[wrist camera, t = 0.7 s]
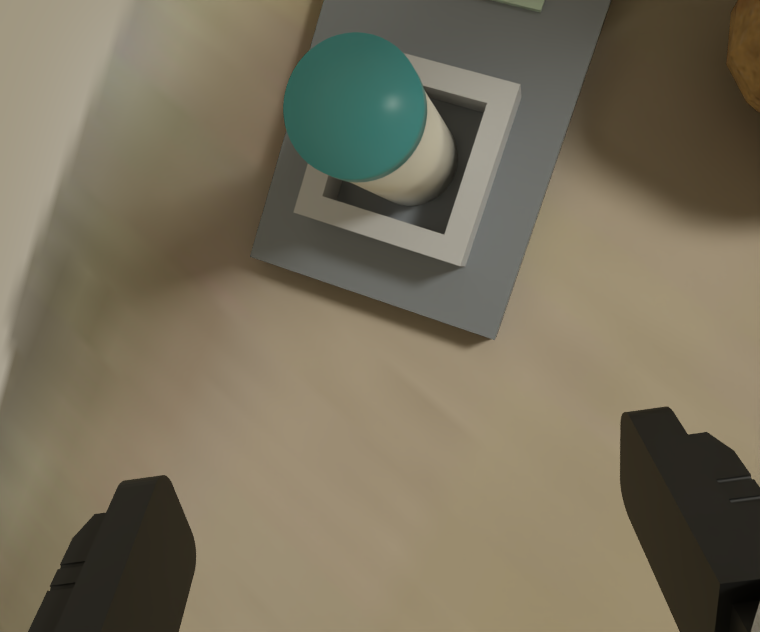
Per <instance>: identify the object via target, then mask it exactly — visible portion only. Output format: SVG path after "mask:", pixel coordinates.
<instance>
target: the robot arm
mask: <svg viewBox="0 0 760 632" xmlns="http://www.w3.org/2000/svg"><path fill="white" fill-rule="evenodd" d="M620 484H621V492H622V497H623V501H624V505H625V508H626V511H627V514H628V517H629V519H630V521H631V524H632V526H633V528H634V530H635V532H636V535H637V537H638V539H639V541H640V544H641V546H642V548H643V550H644V553H645V555H646V557H647V559H648V562H649V564H650V566H651V568H652V571H653V573H654V575H655V577H656V579H657V582H658V584H659V586H660V588H661V591H662V593H663V595H664V597H665V600H666V602H667V604H668V606H669V609H670V611H671V613H672V615H673V618H674V620H675V622H676V624H677V626H678V629H679V631H680V632H760V487H759V486H758V484H757V483H756V481H755V480H754V479H753V480H752V479H751V474H750V473H749V471H748V470H747V469H746V467H745V466H744V464H743V463H742V462H741V460H740V459H739V457H738V456H737V454H736V453H735V452H734V451H733V450H732V449H731V448H729V447H728V446H726V445H725V444H723V443H722V442H720V441H719V440H718V439H716V438H715V437H713V436H712V435H710V434H709V433H707V432H704V433H697V434H690V435H688V434H687V433H686V431H685V429H684V428H683V426H682V425H681V423H680V422H679V420H678V418H677V417H676V415H675V414H674V412H673V411H672V410H671V409H670V408H669V407H660V408H653V409H645V410H638V411H631V412H624V413H623V414H622V416H621V434H620ZM60 565H61V568H60V569H58V570H57V572H56V574H55V576H54V578H53V581H52V583H51V585H50V587H51V589H50V591H47V593H46V595H45V597H44V599H43V602H42V604H41V606H40V608H39V610H38V612H37V614H36V616H35V618H34V620H33V622H32V625H31V627H30V629H29V631H28V632H179V629H180V625H181V621H182V617H183V613H184V610H185V606H186V602H187V598H188V594H189V591H190V587H191V583H192V579H193V575H194V571H195V565H196V547H195V541H194V537H193V534H192V531H191V529H190V526H189V524H188V521H187V519H186V517H185V514H184V512H183V509H182V507H181V504H180V502H179V499H178V497H177V495H176V492H175V490H174V487H173V485H172V483H171V481H170V479H169V478H168V477H167V476H165V475H161V476H154V477H147V478H140V479H133V480H125V481H122V482H121V483H120V484H119V486H118V487H117V489H116V492H115V494H114V496H113V499H112V501H111V503H110V505H109V508H108V510H107V512H106V513H100V514H94V516H93V517H92V518H91V519H90V520H89V521H88V522H87V523H86V524H85V525H84V526H83V528H82V529H81V530H80V531H79V532H78V533H77V534H76V535H75V536H74V537H73V539H72V541H71V543H70V545H69V547H68V549H67V551H66V553H65V555H64V557H63V560H62V562H61V564H60Z"/></svg>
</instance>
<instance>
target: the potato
mask: <svg viewBox="0 0 760 632" xmlns="http://www.w3.org/2000/svg"><path fill="white" fill-rule="evenodd" d="M726 65H727V66H728V68H729V70H730V72H731V74H732V76H733V78H734V80H735V81H736V83H737V85H738V87H739V89H740V91H741V93H742V95H743V97H744V98H745V100H746V102H747V103H748V104H749V105H751V106H752V107H753V108H754V109H755V110H757V111H758V112H759V113H760V0H738V1H737V3H736V4H735V6H734V8H733V10H732V11H731V18H730V29H729V41H728V52H727V63H726Z"/></svg>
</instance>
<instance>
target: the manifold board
mask: <svg viewBox="0 0 760 632" xmlns="http://www.w3.org/2000/svg"><path fill="white" fill-rule="evenodd" d="M610 3H611V0H324V2H323V5H322V9H321V12H320V15H319V19H318V22H317V26H316V29H315V33H314V36H313V40H312V43H311V47H310V50H311V49H312V48H313V47H314V46H316V45H317V44H319V43H320V42H322V41H324V40H326V39H328V38H330V37H333V36H335V35H339V34H344V33H352V32H360V33H368V34H373V35H376V36H379V37H381V38H383V39H385V40H387V41H389V42H391V43H392V44H394V45H395V46H396V47H398V48H399V49H400V50H401V51H402V52H403V53H404V54H405V56H406V57H407V58H408V59H409V61H410V62H411V64H412V66H413V67H414V69H415V71H416V72H417V74H418V76H419V77H420V79H421V82H422V84H423V87H424V90H425V92H426V94H427V95H428V97H429V98H430V100H431V102H432V103H433V105H434V106H435V108H436V110H437V111H438V113H439V114H440V116H441V118H442V119H443V121H444V122H445V124H446V126H447V127H448V129H449V130H450V132H451V134H452V135H453V138H454V140H455V143H456V146H457V153H458V161H457V168H456V171H455V174H454V177H453V179H452V181H451V183H450V184H449V186H448V187H447V188H446V189H445V190H444V192H443V193H442V194H440V195H439V196H438V197H436V198H435V199H433V200H432V201H429V202H427V203H424V204H421V205H416V206H405V205H400V204H396V203H393V202H391V201H389V200H387V199H385V198H382V197H380V196H378V195H376V194H374V193H372V192H370V191H368V190H365V189H363V188H361V187H359V186H357V185H355V184H353V183H350V182H347V181H343V180H339V179H336V178H334V177H331V176H329V175H327V174H325V173H322V172H320V171H319V170H317V169H315V168H314V167H312V166H311V165H310V164H308V163H307V162H306V161H305V160H304V159H303V158H302V157H301V156H300V155H299V153H298V152H297V151H296V150H295V148H294V146H293V144H292V143H291V141H290V138H289V136H288V134H287V130H286V133H285V137H284V140H283V144H282V147H281V151H280V154H279V158H278V161H277V165H276V168H275V172H274V175H273V178H272V182H271V185H270V189H269V192H268V196H267V199H266V203H265V206H264V210H263V213H262V217H261V220H260V224H259V227H258V230H257V234H256V237H255V241H254V244H253V248H252V251H251V255H250V257H253V258H256V259H258V260H261V261H264V262H267V263H270V264H273V265H276V266H279V267H282V268H285V269H288V270H291V271H294V272H297V273H300V274H302V275H305V276H308V277H311V278H314V279H317V280H320V281H323V282H326V283H329V284H332V285H335V286H338V287H341V288H344V289H346V290H349V291H352V292H355V293H358V294H361V295H364V296H367V297H370V298H373V299H376V300H379V301H382V302H385V303H388V304H390V305H393V306H396V307H399V308H402V309H405V310H408V311H411V312H414V313H417V314H420V315H423V316H426V317H429V318H432V319H434V320H437V321H440V322H443V323H446V324H449V325H452V326H455V327H458V328H461V329H464V330H467V331H470V332H473V333H476V334H478V335H481V336H484V337H487V338H490V339H493V340H495V338H496V337H497V334H498V331H499V328H500V325H501V322H502V319H503V316H504V313H505V310H506V307H507V304H508V301H509V298H510V296H511V293H512V290H513V287H514V284H515V281H516V278H517V275H518V272H519V269H520V266H521V263H522V260H523V258H524V255H525V252H526V249H527V246H528V243H529V240H530V237H531V234H532V231H533V228H534V225H535V222H536V220H537V217H538V214H539V211H540V208H541V205H542V202H543V199H544V196H545V193H546V190H547V187H548V184H549V181H550V179H551V176H552V173H553V170H554V167H555V164H556V161H557V158H558V155H559V152H560V149H561V146H562V143H563V141H564V138H565V135H566V132H567V129H568V126H569V123H570V120H571V117H572V114H573V111H574V108H575V105H576V102H577V100H578V97H579V94H580V91H581V88H582V85H583V82H584V79H585V76H586V73H587V70H588V67H589V64H590V62H591V59H592V56H593V53H594V50H595V47H596V44H597V41H598V38H599V35H600V32H601V29H602V26H603V24H604V21H605V18H606V15H607V12H608V9H609V6H610Z"/></svg>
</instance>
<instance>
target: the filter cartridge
mask: <svg viewBox="0 0 760 632" xmlns="http://www.w3.org/2000/svg"><path fill="white" fill-rule="evenodd" d="M283 113H284V122H285V127H286V130H287V134H288V136H289V138H290V141H291V143H292V144H293V146H294V148H295V150H296V151H297V152H298V153H299V155H300V156H301V157H302V158H303V159H304V160H305V161H306V162H307V163H308V164H310V165H311V166H312V167H314V168H315V169H317V170H319V171H320V172H322V173H325V174H327V175H329V176H331V177H334V178H336V179H339V180H343V181H347V182H350V183H353V184H355V185H357V186H359V187H361V188H363V189H365V190H368V191H370V192H372V193H374V194H376V195H378V196H380V197H382V198H385V199H387V200H389V201H391V202H393V203H396V204H400V205H405V206H416V205H421V204H424V203H427V202H429V201H432V200H433V199H435V198H436V197H438V196H439V195H440V194H442V193H443V192H444V190H445V189H446V188H447V187H448V186H449V184H450V183H451V181H452V179H453V177H454V174H455V171H456V168H457V161H458V153H457V146H456V143H455V140H454V138H453V135H452V134H451V132H450V130H449V129H448V127H447V126H446V124H445V122H444V121H443V119H442V118H441V116H440V114H439V113H438V111H437V110H436V108H435V106H434V105H433V103H432V102H431V100H430V98H429V97H428V95H427V94H426V92H425V90H424V87H423V84H422V82H421V79H420V77H419V76H418V74H417V72H416V71H415V69H414V67H413V66H412V64H411V62H410V61H409V59H408V58H407V57H406V56H405V54H404V53H403V52H402V51H401V50H400V49H399V48H398V47H396V46H395V45H394V44H392V43H391V42H389V41H387V40H385V39H383V38H381V37H379V36H376V35H373V34H368V33H360V32H352V33H344V34H339V35H335V36H333V37H330V38H328V39H326V40H324V41H322V42H320V43H319V44H317V45H316V46H314V47H313V48H312V49H311V50H309V51H308V52H307V53H306V54H305V55H304V56H303V58H302V59H301V60H300V61H299V62H298V64H297V66H296V67H295V69H294V70H293V72H292V74H291V76H290V78H289V81H288V84H287V87H286V91H285V95H284V104H283Z"/></svg>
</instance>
